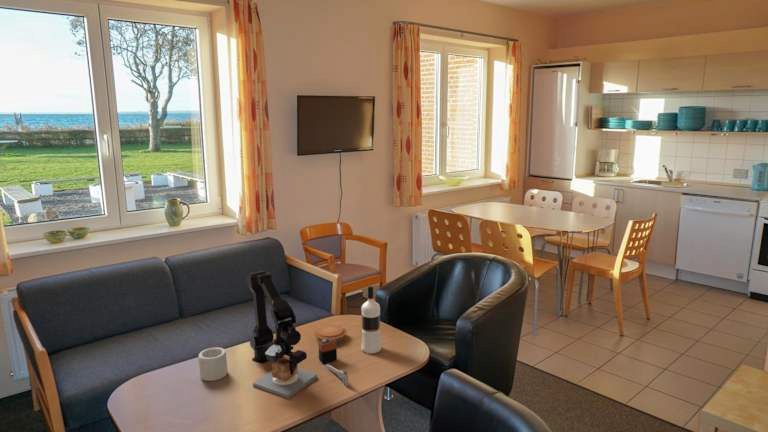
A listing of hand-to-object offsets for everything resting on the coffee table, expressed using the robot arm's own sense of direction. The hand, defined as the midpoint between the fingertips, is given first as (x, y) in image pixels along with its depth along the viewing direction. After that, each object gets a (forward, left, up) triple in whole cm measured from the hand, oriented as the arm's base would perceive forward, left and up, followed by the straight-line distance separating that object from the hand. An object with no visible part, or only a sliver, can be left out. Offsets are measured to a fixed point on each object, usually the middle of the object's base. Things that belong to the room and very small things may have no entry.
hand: (285, 372), depth 208 cm
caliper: (+15, +14, -5) cm, 21 cm away
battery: (+4, +23, -4) cm, 24 cm away
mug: (-31, -10, -4) cm, 33 cm away
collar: (0, 0, -1) cm, 1 cm away
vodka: (+15, +41, -4) cm, 44 cm away
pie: (-8, +41, -5) cm, 42 cm away
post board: (0, 0, -4) cm, 4 cm away
